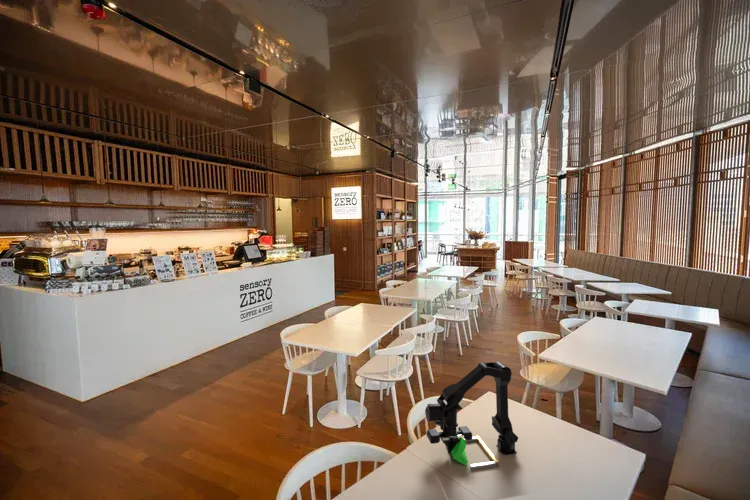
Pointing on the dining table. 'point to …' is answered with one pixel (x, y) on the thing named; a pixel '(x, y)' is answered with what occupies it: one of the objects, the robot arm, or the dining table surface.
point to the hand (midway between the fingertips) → (448, 453)
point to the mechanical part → (460, 451)
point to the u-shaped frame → (488, 452)
